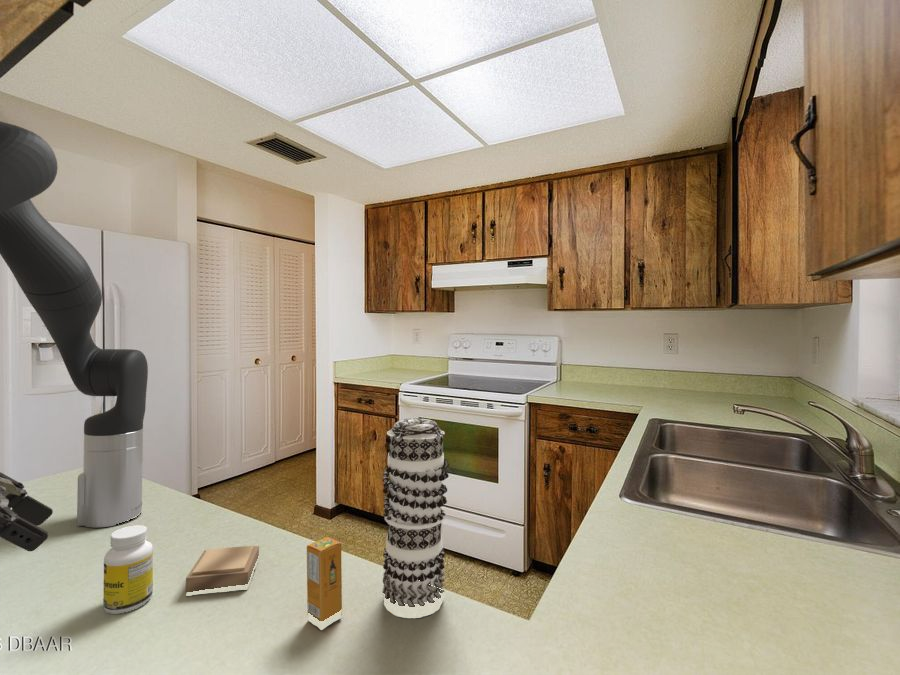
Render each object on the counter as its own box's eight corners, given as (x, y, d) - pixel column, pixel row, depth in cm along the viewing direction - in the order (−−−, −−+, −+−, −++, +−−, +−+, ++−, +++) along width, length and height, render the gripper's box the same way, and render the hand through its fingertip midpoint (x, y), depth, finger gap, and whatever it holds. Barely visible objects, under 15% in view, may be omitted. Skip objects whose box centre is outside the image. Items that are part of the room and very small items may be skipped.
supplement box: (326, 608, 59) (328, 534, 59) (342, 619, 57) (343, 542, 57) (304, 620, 56) (306, 543, 56) (320, 632, 54) (321, 552, 54)
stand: (185, 596, 61) (186, 575, 61) (204, 567, 69) (204, 547, 69) (247, 590, 63) (247, 569, 63) (258, 561, 70) (259, 543, 70)
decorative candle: (454, 614, 58) (458, 426, 58) (384, 626, 55) (388, 429, 55) (437, 577, 67) (440, 414, 67) (376, 586, 64) (379, 416, 64)
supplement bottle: (94, 607, 58) (95, 534, 58) (139, 587, 63) (140, 519, 63) (116, 620, 56) (117, 544, 56) (160, 598, 60) (161, 527, 60)
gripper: (-82, 435, 43) (71, 522, 50) (-48, 414, 54) (74, 488, 61) (-175, 502, 39) (5, 585, 47) (-118, 465, 50) (20, 536, 58)
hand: (44, 530), depth 54 cm, fingers open, 8 cm apart
